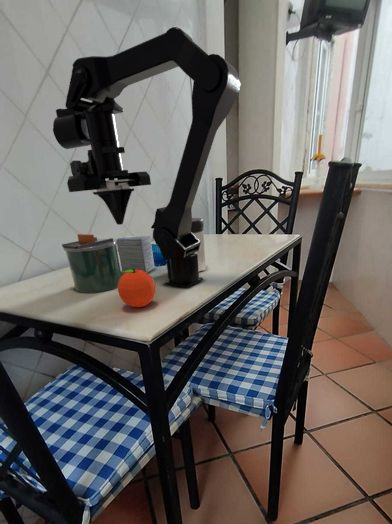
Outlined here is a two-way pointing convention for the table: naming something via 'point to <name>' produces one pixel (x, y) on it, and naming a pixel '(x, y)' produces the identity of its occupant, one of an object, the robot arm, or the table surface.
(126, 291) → the clementine
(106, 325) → the table surface
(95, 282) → the canister
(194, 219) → the jar
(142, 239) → the medicine box
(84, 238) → the slider
